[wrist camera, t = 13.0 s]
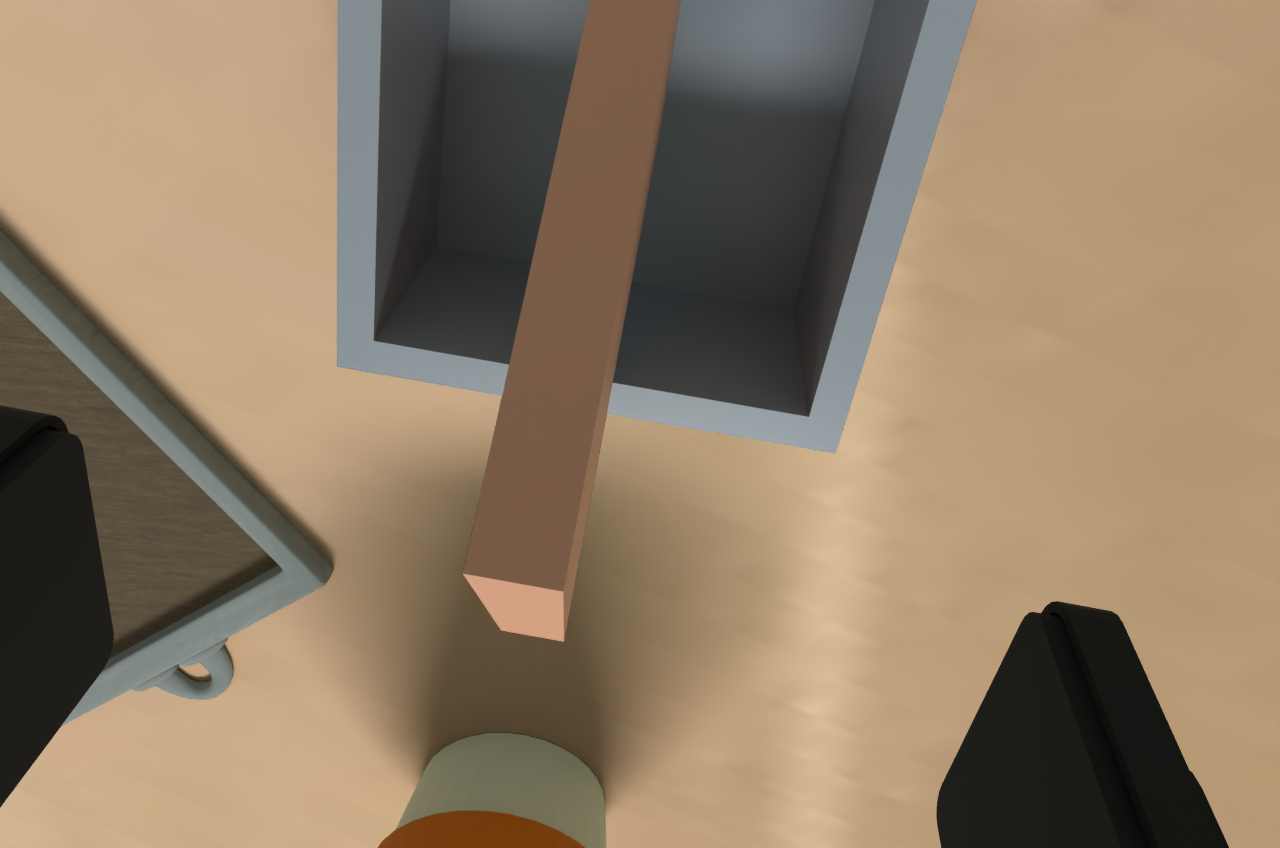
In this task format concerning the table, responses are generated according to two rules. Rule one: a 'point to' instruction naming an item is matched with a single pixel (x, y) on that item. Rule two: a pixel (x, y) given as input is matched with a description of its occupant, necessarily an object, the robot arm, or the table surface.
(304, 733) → the table surface
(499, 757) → the reusable coffee cup
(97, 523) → the grey flat rectangular tray
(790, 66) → the bin
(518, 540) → the block
